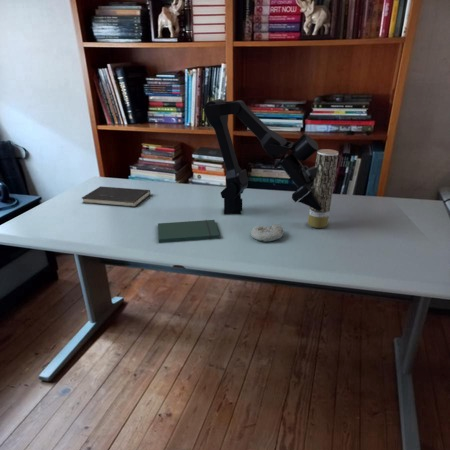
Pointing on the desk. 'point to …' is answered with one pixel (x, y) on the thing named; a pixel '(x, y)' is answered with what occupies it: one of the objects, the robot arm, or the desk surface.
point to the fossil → (267, 233)
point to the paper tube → (323, 186)
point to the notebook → (187, 231)
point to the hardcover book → (116, 196)
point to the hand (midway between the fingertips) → (323, 206)
